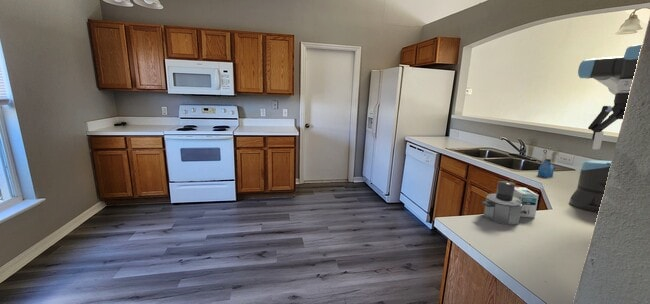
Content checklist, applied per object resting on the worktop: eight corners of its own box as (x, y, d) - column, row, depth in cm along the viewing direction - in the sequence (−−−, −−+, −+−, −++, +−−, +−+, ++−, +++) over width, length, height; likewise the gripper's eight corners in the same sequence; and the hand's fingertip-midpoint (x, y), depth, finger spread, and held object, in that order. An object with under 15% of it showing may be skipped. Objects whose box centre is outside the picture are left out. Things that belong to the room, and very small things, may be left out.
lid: (504, 199, 124) (507, 178, 122) (528, 210, 112) (532, 187, 110) (479, 200, 122) (482, 179, 120) (501, 211, 110) (505, 188, 108)
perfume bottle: (548, 177, 182) (551, 160, 179) (537, 175, 187) (540, 158, 185) (552, 176, 185) (555, 159, 182) (542, 174, 190) (545, 157, 188)
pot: (506, 211, 126) (509, 194, 124) (531, 223, 113) (534, 205, 112) (472, 212, 123) (474, 196, 121) (494, 226, 110) (496, 207, 109)
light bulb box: (535, 218, 118) (539, 195, 116) (518, 216, 120) (522, 193, 118) (522, 208, 129) (526, 187, 127) (507, 207, 130) (510, 186, 128)
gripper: (583, 92, 104) (572, 146, 109) (674, 91, 80) (655, 160, 84) (599, 92, 106) (587, 146, 110) (693, 91, 81) (674, 160, 86)
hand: (617, 152), depth 97 cm, fingers open, 13 cm apart
